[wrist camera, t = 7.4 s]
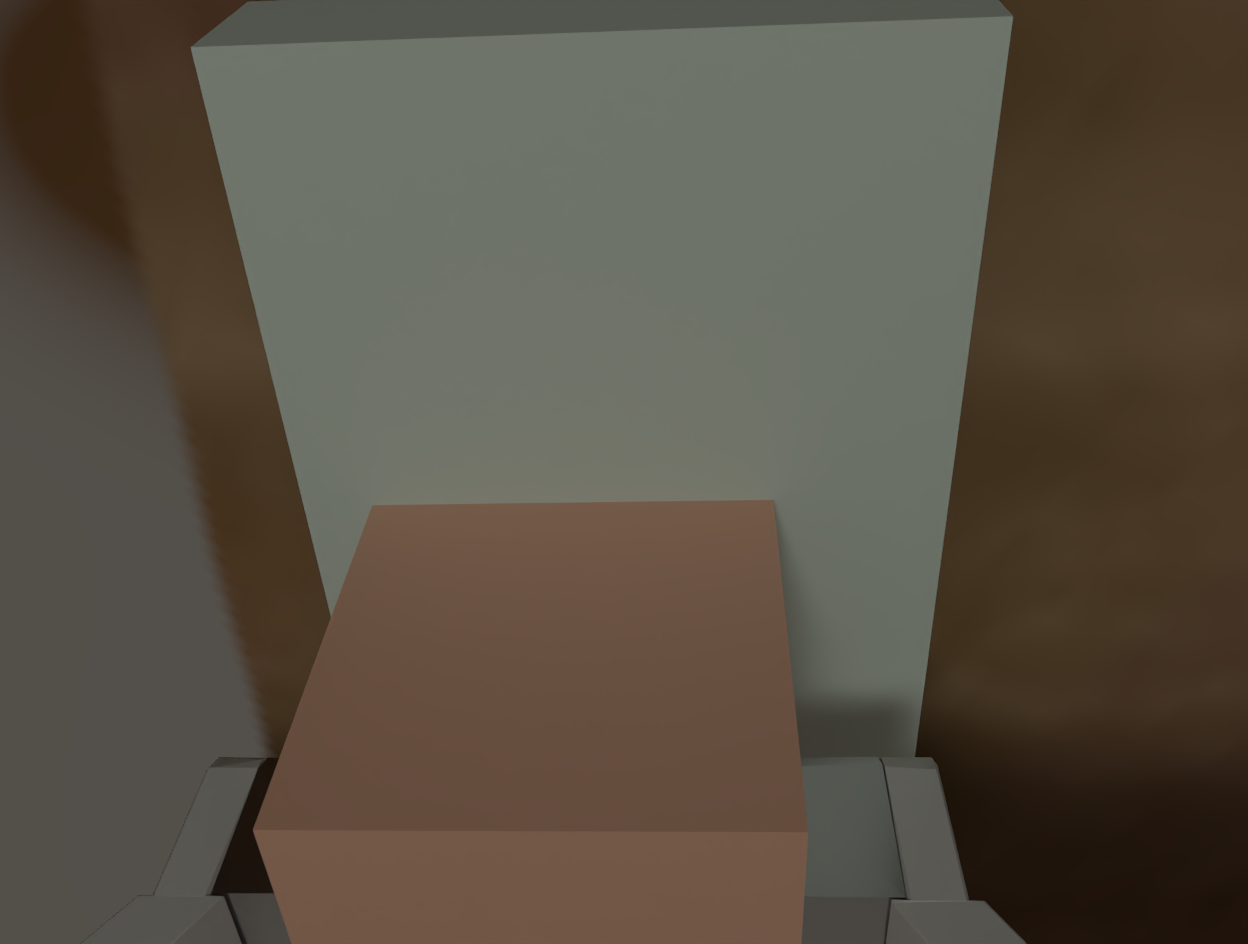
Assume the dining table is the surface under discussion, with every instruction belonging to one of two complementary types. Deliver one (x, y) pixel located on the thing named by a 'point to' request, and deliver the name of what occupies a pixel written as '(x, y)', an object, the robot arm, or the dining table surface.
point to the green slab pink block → (602, 435)
